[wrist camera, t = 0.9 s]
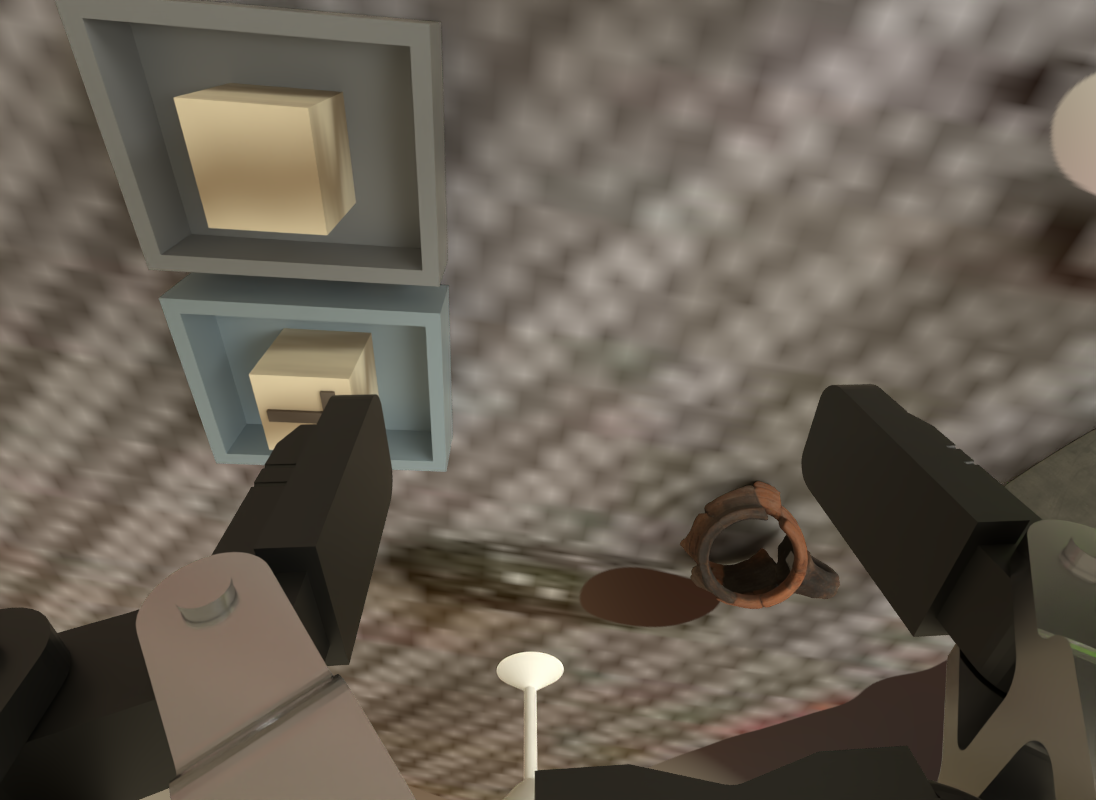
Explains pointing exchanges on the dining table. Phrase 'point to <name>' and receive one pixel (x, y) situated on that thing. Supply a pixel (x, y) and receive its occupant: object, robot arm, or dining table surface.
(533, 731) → the champagne flute
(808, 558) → the pottery mug
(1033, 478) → the hip flask
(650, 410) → the dining table surface
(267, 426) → the letter cube
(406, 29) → the charcoal bin
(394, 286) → the slate bin
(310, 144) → the blank cube
